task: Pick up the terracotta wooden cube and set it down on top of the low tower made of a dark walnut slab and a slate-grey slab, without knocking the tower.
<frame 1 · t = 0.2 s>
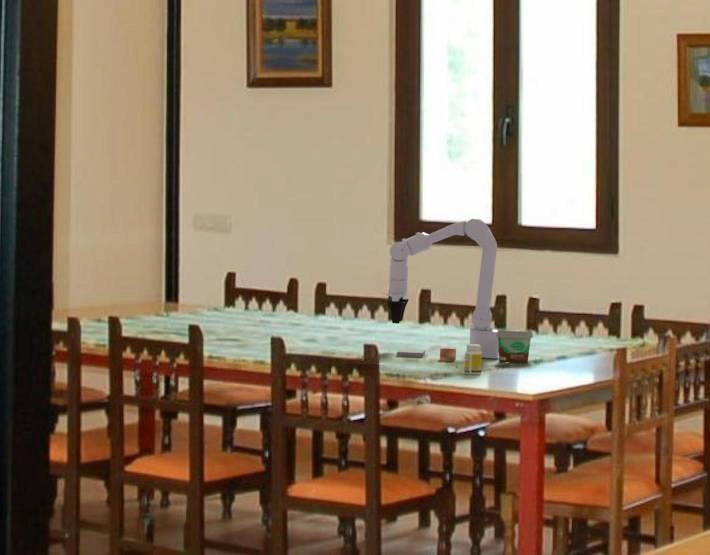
hand: (397, 322, 444), 10 cm above the table, fingers open, 7 cm apart
terracotta cube: (447, 362, 426), on the table
slate top slab: (411, 355, 434), point 1 cm above the table, touching walnut base slab
food container: (517, 363, 430), on the table
walnut base slab: (410, 360, 434), on the table, touching slate top slab
supplement bottle: (472, 374, 401), on the table
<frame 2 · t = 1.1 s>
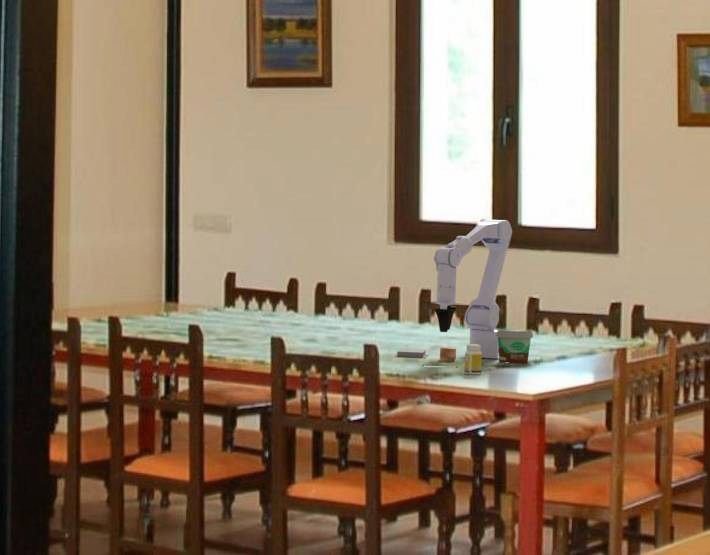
hand: (444, 330, 427), 9 cm above the table, fingers open, 7 cm apart
slate top slab: (411, 355, 434), point 1 cm above the table
walnut base slab: (410, 360, 434), on the table
everything else where it was.
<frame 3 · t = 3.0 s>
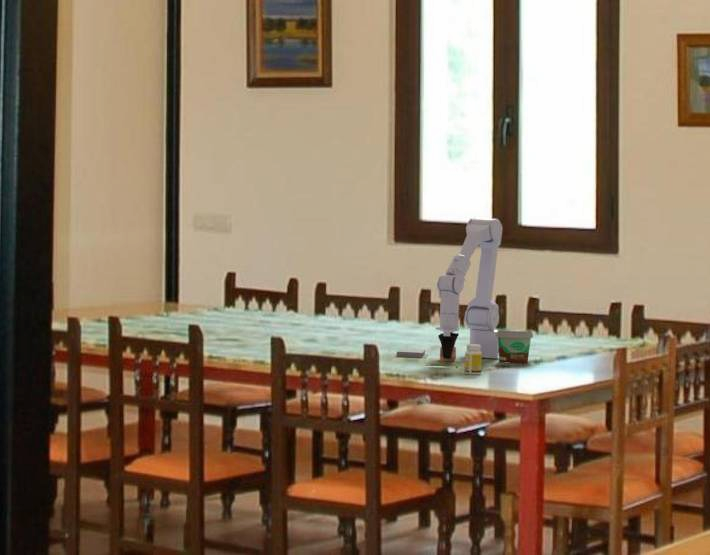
hand: (447, 357, 426), 1 cm above the table, fingers closed on terracotta cube, 4 cm apart
terracotta cube: (447, 362, 426), on the table, touching gripper
slate top slab: (410, 355, 434), point 1 cm above the table, touching walnut base slab
walnut base slab: (410, 360, 434), on the table, touching slate top slab
everything else where it was.
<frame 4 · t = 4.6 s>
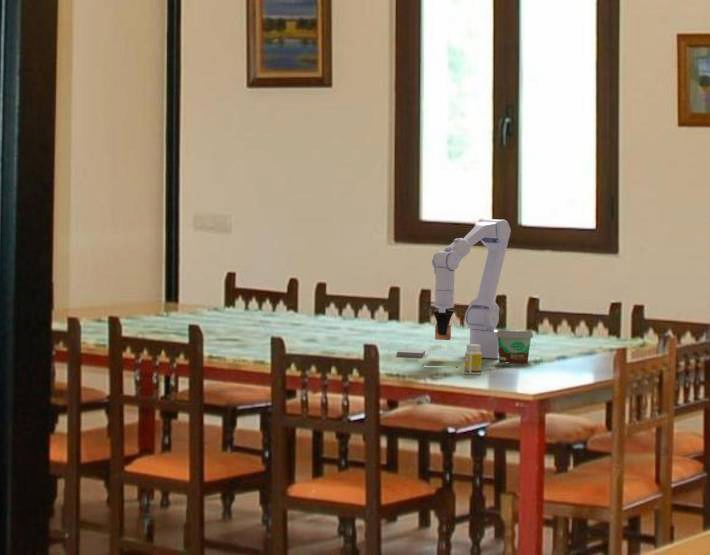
hand: (443, 334, 427), 8 cm above the table, fingers closed on terracotta cube, 4 cm apart
terracotta cube: (442, 339, 427), point 7 cm above the table, touching gripper
everything else where it was.
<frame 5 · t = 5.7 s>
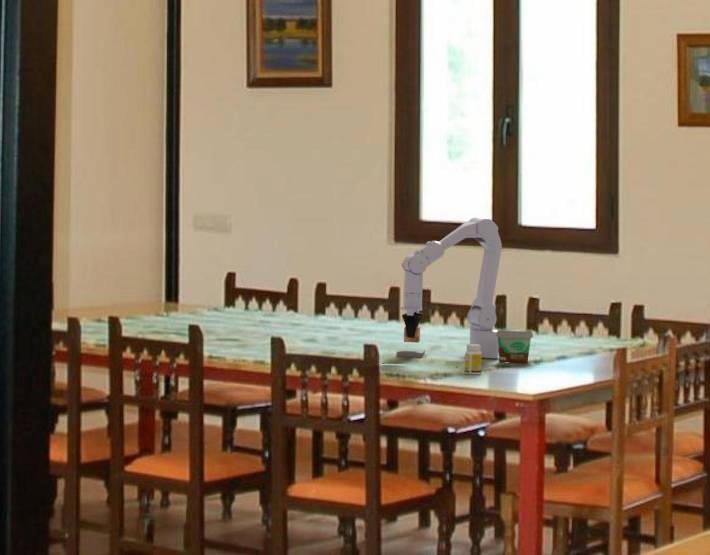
hand: (411, 336, 434), 7 cm above the table, fingers closed on terracotta cube, 4 cm apart
terracotta cube: (411, 341, 434), point 5 cm above the table, touching gripper
everything else where it was.
when the fingers open (5 cm above the table, at t = 6.4 s): terracotta cube drops 2 cm, resting on slate top slab.
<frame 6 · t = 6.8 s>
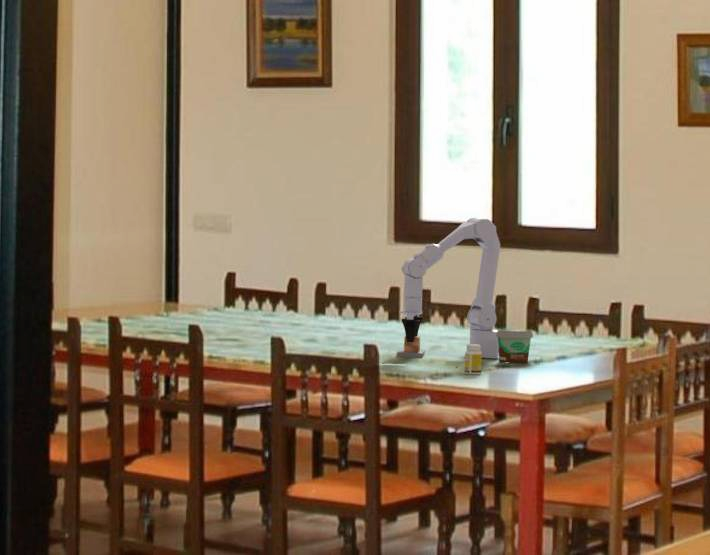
hand: (411, 340, 434), 5 cm above the table, fingers open, 7 cm apart
terracotta cube: (411, 351, 434), point 2 cm above the table, touching slate top slab
slate top slab: (410, 355, 434), point 1 cm above the table, touching terracotta cube, walnut base slab
everything else where it was.
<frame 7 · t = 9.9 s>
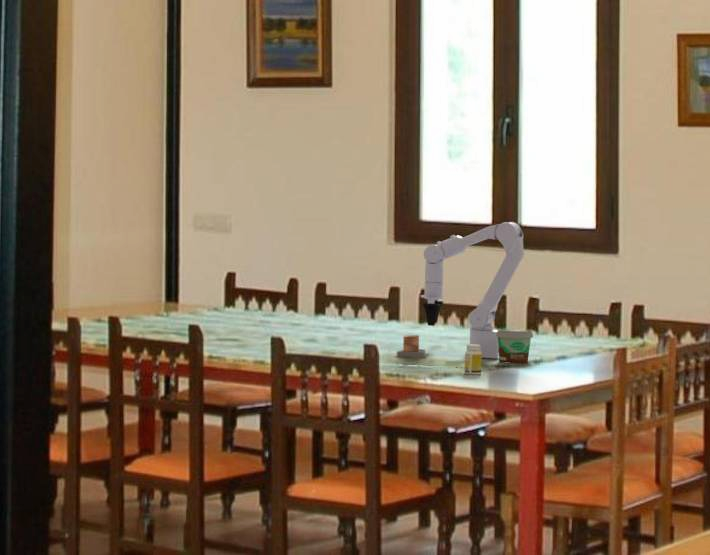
hand: (432, 324, 446), 9 cm above the table, fingers open, 7 cm apart
terracotta cube: (411, 350, 434), point 2 cm above the table
slate top slab: (411, 355, 434), point 1 cm above the table, touching walnut base slab
everything else where it was.
at the end: terracotta cube 0.0 cm off-centre on the slate top slab, point 1.6 cm above the slate top slab's base; terracotta cube tilted 1°; slate top slab moved 0.7 cm from its start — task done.
